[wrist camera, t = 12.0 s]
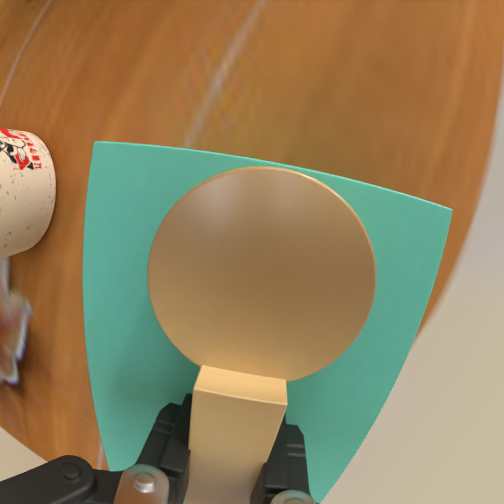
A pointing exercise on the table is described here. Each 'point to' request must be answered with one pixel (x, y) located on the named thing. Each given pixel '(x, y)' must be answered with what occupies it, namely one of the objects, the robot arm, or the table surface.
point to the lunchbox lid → (185, 372)
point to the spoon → (255, 308)
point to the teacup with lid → (24, 191)
